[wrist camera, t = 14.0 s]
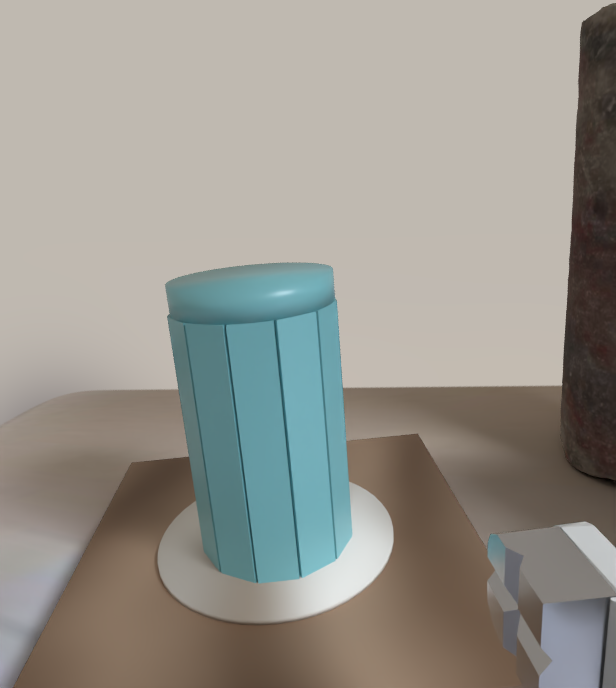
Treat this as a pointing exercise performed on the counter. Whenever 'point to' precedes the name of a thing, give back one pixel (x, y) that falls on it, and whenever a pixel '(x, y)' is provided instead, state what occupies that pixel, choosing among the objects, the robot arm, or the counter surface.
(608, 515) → the counter surface
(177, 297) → the teal lidded canister
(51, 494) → the counter surface
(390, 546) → the mount plate
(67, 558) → the counter surface
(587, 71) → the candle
